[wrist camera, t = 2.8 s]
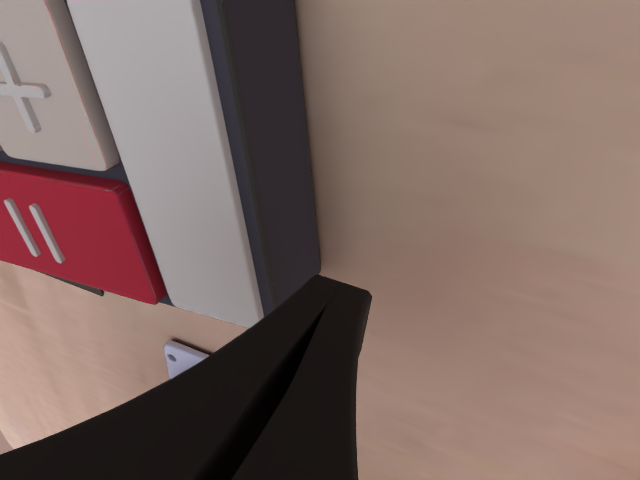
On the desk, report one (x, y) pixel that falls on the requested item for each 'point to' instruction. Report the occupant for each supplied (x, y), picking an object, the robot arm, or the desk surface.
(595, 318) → the desk surface
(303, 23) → the desk surface
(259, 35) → the calculator
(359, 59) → the desk surface
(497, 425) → the desk surface
